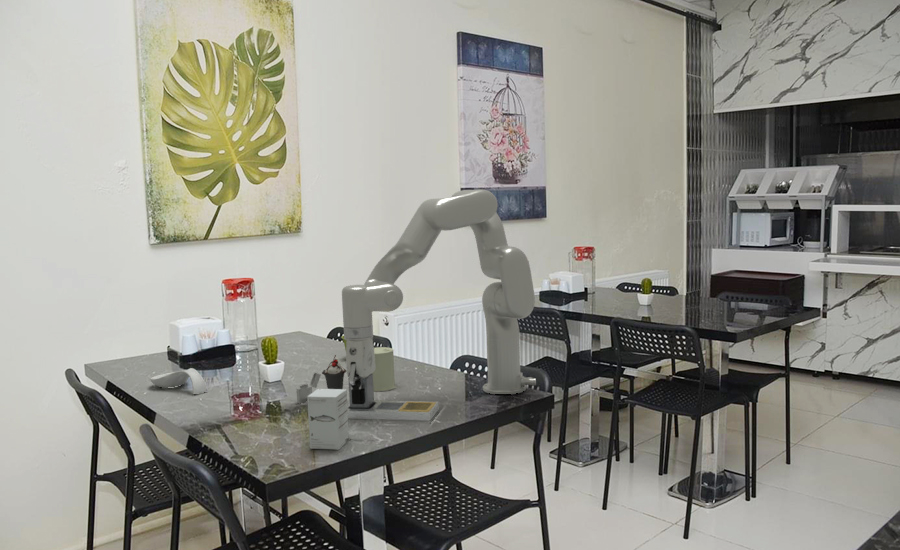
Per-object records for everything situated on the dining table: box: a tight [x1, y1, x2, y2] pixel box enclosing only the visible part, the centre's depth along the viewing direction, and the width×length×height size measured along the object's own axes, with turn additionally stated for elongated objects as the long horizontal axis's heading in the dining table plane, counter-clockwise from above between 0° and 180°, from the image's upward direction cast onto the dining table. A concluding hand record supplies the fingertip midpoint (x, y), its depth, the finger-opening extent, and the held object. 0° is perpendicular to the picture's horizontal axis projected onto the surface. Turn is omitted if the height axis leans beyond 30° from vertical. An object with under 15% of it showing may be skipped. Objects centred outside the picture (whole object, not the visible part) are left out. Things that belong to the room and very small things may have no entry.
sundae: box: [321, 354, 347, 389], centre depth 201 cm, size 7×7×15 cm
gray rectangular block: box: [347, 373, 375, 409], centre depth 191 cm, size 5×5×10 cm
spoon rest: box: [149, 367, 208, 395], centre depth 229 cm, size 24×12×7 cm, turn 51°
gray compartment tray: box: [347, 399, 440, 425], centre depth 190 cm, size 24×10×3 cm, turn 78°
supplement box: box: [307, 388, 349, 451], centre depth 170 cm, size 7×7×13 cm
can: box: [373, 346, 396, 393], centre depth 220 cm, size 9×9×12 cm
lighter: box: [296, 371, 322, 405], centre depth 208 cm, size 7×2×8 cm, turn 126°
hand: (362, 400), depth 191 cm, fingers closed on gray rectangular block, 5 cm apart
